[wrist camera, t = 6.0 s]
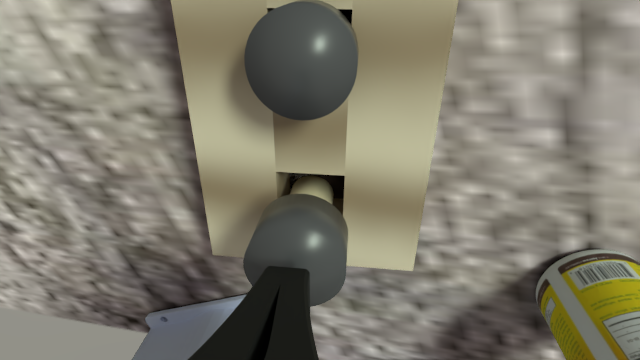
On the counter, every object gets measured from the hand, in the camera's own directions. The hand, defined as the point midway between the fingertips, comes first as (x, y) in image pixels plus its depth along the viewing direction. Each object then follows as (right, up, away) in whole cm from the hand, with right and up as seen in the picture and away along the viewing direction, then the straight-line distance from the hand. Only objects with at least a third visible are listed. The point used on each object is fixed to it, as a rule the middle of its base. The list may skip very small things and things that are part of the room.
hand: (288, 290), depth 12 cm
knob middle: (+1, +10, +4) cm, 11 cm away
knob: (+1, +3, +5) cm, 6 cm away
